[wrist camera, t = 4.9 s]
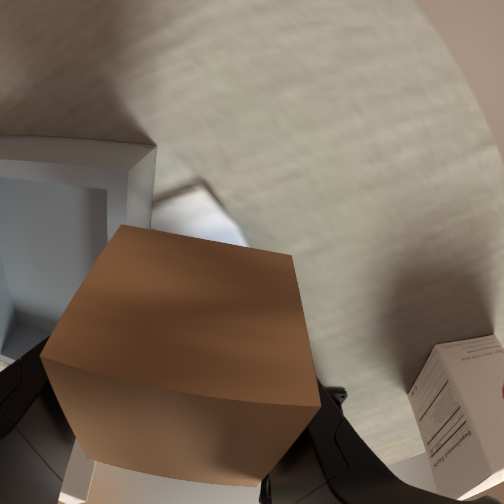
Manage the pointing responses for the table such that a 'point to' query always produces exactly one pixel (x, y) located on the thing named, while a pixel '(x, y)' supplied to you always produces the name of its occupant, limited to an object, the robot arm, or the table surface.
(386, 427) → the table surface
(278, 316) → the walnut cube
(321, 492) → the robot arm
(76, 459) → the small box
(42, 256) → the tote
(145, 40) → the table surface
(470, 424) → the supplement box
